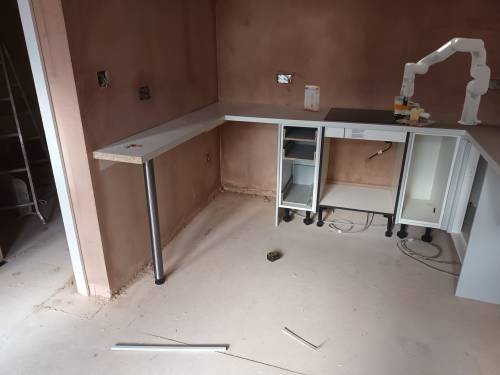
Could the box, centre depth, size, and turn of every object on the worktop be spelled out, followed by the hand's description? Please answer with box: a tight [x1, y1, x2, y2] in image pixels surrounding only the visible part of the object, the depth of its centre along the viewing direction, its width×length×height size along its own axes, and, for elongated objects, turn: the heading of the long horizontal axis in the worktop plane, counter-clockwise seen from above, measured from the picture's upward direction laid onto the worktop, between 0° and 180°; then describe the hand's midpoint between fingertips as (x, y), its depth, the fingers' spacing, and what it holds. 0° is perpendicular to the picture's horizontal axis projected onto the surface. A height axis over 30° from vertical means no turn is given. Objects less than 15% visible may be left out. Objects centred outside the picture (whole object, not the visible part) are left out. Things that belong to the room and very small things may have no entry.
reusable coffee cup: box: [393, 95, 412, 115], centre depth 312 cm, size 13×13×15 cm
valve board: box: [395, 115, 436, 128], centre depth 285 cm, size 20×20×4 cm
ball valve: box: [405, 107, 431, 122], centre depth 284 cm, size 18×6×9 cm, turn 36°
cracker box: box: [303, 84, 321, 112], centre depth 333 cm, size 14×6×21 cm, turn 30°
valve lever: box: [407, 101, 421, 109], centre depth 285 cm, size 11×3×4 cm, turn 34°
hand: (404, 105), depth 285 cm, fingers closed
